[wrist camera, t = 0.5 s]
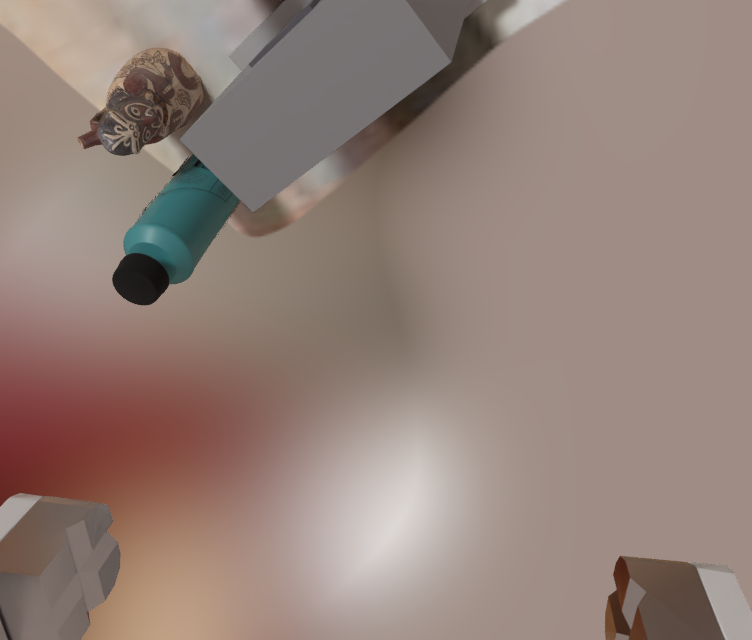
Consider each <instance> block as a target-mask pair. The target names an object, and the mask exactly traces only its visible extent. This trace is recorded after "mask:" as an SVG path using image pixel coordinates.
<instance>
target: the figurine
mask: <svg viewBox="0 0 752 640" xmlns="http://www.w3.org/2000/svg"><path fill="white" fill-rule="evenodd" d="M203 98H204V94H203V91H202V86H201V79H200V77H199V76H198V75H197V73H196V72H195V71H194V70H193V68H192V67H191V65H189V64H188V63H187V61H186V60H185V59H184V58H183V57H182V56H181V55H180V54H179V53H177V52H175V51H173V50H169V49H164V48H152V49H147V50H145V51H143V52H141V53H138V54H136V55H135V56H134V57H132V58H131V59H130V60H129V61H128V62H127V63H126V64H125V65H124V66H123V68H122V69H121V70H120V71H119V72H118V74H117V75H116V77H115V79H114V80H113V82H112V84H111V85H110V87H109V90H108V95H107V102H106V107H105V108H104V109H103V110H102V111H100V112H99V113H97V114H96V115H95V116H94V117H93V119H92V120H91V121H90V125H91V129H92V131H90V132H88V133H86V134H84V135H82V136H80V137H78V138H77V140H78V141H79V143H80V144H81V145H82V147H83V149H86V148H89V147H92V146H95V145H101V144H103V146H104V147H105V149H107V151H109V152H110V153H112V154H115V155H120V156H125V155H130V154H138V153H140V150H141V148H142V147H143V146H144V145H147V144H152V143H157V142H159V141H161V140H162V139H164V138H165V137H167V136H168V135H170V134H171V133H172V132H174V131H175V130H176V129H178V128H180V127H182V126H184V125H186V123H187V122H188V121H189V119H190V118H191V116H192V115H193V114H194V112H195V111H196V110H197V108H198V107H199V106H200V105H201V103H202V101H203Z"/></svg>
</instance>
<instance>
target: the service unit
mask: <svg viewBox="0 0 752 640" xmlns="http://www.w3.org/2000/svg"><path fill="white" fill-rule="evenodd" d="M486 1H487V0H285V1H284V2H283V3H282V4H281V5H280V6H279V7H278V8H277V9H276V10H275V11H274V12H273V13H272V14H271V15H270V16H269V17H268V18H267V19H266V20H265V21H264V22H263V23H262V24H261V25H260V26H259V27H258V28H257V29H256V30H255V31H254V32H253V33H252V34H251V35H250V36H249V37H248V38H247V39H246V40H245V41H244V42H243V43H242V44H241V45H240V46H239V47H238V48H237V49H236V50H235V51H234V52H233V53H232V54H231V55H230V56H229V57H230V58H231V59H232V60H233V62H234V63H235V64H236V65H237V66H238V67H239V68H240V69H241V70H242V72H241V73H240V74H239V75H238V76H237V77H236V78H235V80H234V81H233V82H232V83H231V84H230V85H229V86H228V87H227V88H226V89H225V90H224V91H223V93H222V94H221V95H220V96H219V97H218V98H217V99H216V100H215V101H214V102H213V103H212V104H211V106H210V107H209V108H208V109H207V110H206V111H205V112H204V113H203V114H202V115H201V116H200V117H199V119H198V120H197V121H196V122H195V123H194V124H193V125H192V126H191V127H190V128H189V129H188V131H187V132H186V133H185V134H184V135H183V136H182V137H181V138H180V139H179V140H180V141H181V142H182V143H183V144H184V145H185V146H186V147H187V148H188V149H189V150H190V151H191V152H192V153H193V154H194V155H195V156H196V157H197V158H198V159H199V160H200V161H201V162H202V163H203V164H204V165H205V166H206V167H207V168H208V169H209V170H210V171H211V172H212V173H213V174H214V175H215V176H216V177H217V178H218V179H219V180H220V181H221V182H222V183H223V184H224V185H225V186H226V187H227V188H228V189H229V190H231V191H232V192H233V193H234V194H235V195H236V196H237V197H238V198H239V199H240V200H241V201H242V202H243V203H244V204H245V205H246V206H247V207H248V208H249V209H250V210H251V211H252V212H254V211H256V210H257V209H258V208H260V207H261V206H262V205H264V204H265V203H266V202H268V201H269V200H270V199H272V198H273V197H274V196H276V195H277V194H278V193H279V192H281V191H282V190H283V189H285V188H286V187H287V186H289V185H290V184H291V183H293V182H294V181H295V180H297V179H298V178H299V177H301V176H302V175H303V174H305V173H306V172H307V171H309V170H310V169H311V168H312V167H314V166H315V165H316V164H318V163H319V162H320V161H322V160H323V159H324V158H326V157H327V156H328V155H330V154H331V153H332V152H334V151H335V150H336V149H338V148H339V147H340V146H342V145H343V144H344V143H346V142H347V141H348V140H349V139H351V138H352V137H353V136H355V135H356V134H357V133H359V132H360V131H361V130H363V129H364V128H365V127H367V126H368V125H369V124H371V123H372V122H373V121H375V120H376V119H377V118H379V117H380V116H381V115H383V114H384V113H385V112H386V111H388V110H389V109H390V108H392V107H393V106H394V105H396V104H397V103H398V102H400V101H401V100H402V99H404V98H405V97H406V96H408V95H409V94H410V93H412V92H413V91H414V90H416V89H417V88H418V87H420V86H421V85H422V84H423V83H425V82H426V81H427V80H429V79H430V78H431V77H433V76H434V75H435V74H437V73H438V72H439V71H441V70H442V69H443V68H445V67H446V66H447V65H449V64H450V63H451V62H452V59H453V55H454V52H455V48H456V45H457V41H458V38H459V34H460V31H461V28H462V24H463V21H464V19H465V18H466V17H467V16H469V15H470V14H471V13H472V12H474V11H475V10H476V9H477V8H479V7H480V6H481V5H482V4H484V3H485V2H486Z"/></svg>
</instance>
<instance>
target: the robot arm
mask: <svg viewBox="0 0 752 640" xmlns="http://www.w3.org/2000/svg"><path fill="white" fill-rule="evenodd" d="M112 522H113V519H112V516H111V513H110V509H109V506H107V505H104V504H102V503H96V502H88V501H80V500H72V499H64V498H56V497H50V496H49V497H48V496H47V497H44V496H36V495H29V494H22V493H20V494H17V495H15V496H12V497H10V498H9V499H8V500H7V501H6V502H5V503H4V504H3V505H2V506H1V507H0V640H81V638H82V636H83V635H84V634H85V632H86V631H87V629H88V627H89V626H90V619H89V611H90V610H92V609H93V608H95V607H96V606H98V605H99V604H101V603H103V602H104V601H105V600H106V599H107V597H108V595H109V594H110V592H111V590H112V589H113V587H114V585H115V582H116V578H117V575H118V572H119V569H120V549H119V545H118V542H117V541H116V540H115V539H114V538H113V537H112V536H111V535H110V533H109V532H107V530H108V528H109V527H110V525H111V524H112ZM613 576H614V580H615V584H616V588H617V590H616V591H615V592H613V593H612V594H611V595H609V596H608V601H607V607H606V612H605V637H606V640H752V610H751V608H750V606H749V604H748V602H747V600H746V597H745V595H744V593H743V591H742V589H741V587H740V585H739V583H738V581H737V578H736V577H735V574H734V572H733V571H732V570H731V569H730V568H729V567H728V566H725V565H715V564H704V563H693V562H691V563H688V562H680V561H670V560H659V559H648V558H638V557H627V556H620V557H619V558H618V560H617V562H616V565H615V569H614V573H613Z"/></svg>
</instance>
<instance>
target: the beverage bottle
mask: <svg viewBox="0 0 752 640" xmlns="http://www.w3.org/2000/svg"><path fill="white" fill-rule="evenodd" d="M188 157H189V156H188ZM186 160H187V162H186V163H185V161H186ZM186 160H185V161H184V163H185V164H184V163H183V164H184V165H183V164H182V165H181V167H182V168H181V167H180V168H179V169H180V170H179V169H178V171H177V172H175V173H174V174H173V176H174V177H173V178H172V179H171V181H170V182H169V183H168V184H167V185H166V186H165V188H164V189H163V190H162V191H161V193H160V194H159V195H158V196H157V197H156V198H155V200H154V201H153V202H152V203H151V204H150V206H149V207H148V208H147V209H145V212H144V213H142V216H141V217H140V218H139V220H138V221H137V222H136V223H135V224H134V226H133V227H132V228H130V229H129V230H128V232H127V233H126V235H125V237H124V251H125V254H126V256H125V257H124V258H123V259H122V260H121V262H120V264H119V266H118V268H117V269H116V270H115V272H114V274H113V278H112V281H113V285H114V287H115V289H116V291H117V292H118V293H119V294H120V295H121V296H122V297H123V298H125V299H126V300H128V301H129V302H132V303H134V304H138V305H150V304H152V303H154V302H155V301H156V300H157V299H158V298H159V297H160V296H161V294H163V293H164V292H165V290H166V289H167V288H168V286H169V284H178V283H181V282H183V281H185V280H187V279H188V278H189V277H190V276H191V274H192V273H193V271H194V268H195V267H196V265H197V264H198V262H199V261H200V259H201V257H202V256H203V254H204V253H205V251H206V250H207V248H208V247H209V245H210V244H211V242H212V241H213V239H214V238H215V237H216V235H217V233H218V232H219V231H220V229H221V228H222V227H223V225H224V223H225V222H226V220H227V219H228V217H229V216H230V214H231V213H232V211H233V210H234V208H235V207H236V205H237V204H238V202H239V200H240V199H239V198H238V197H237V196H236V195H235V194H234V193H233V192H232V191H231V190H229V189H228V188H227V187H226V186H225V185H224V184H223V183H222V182H221V181H220V180H219V179H218V178H217V177H216V176H215V175H214V174H213V173H212V172H211V171H210V170H209V169H208V168H207V167H206V166H205V165H204V164H203V163H202V162H201V161H200V160H199V159H198V158H197V157H196V156H195V155H194V154H192V156H191V157H190V158H189V159H188V158H187V159H186ZM240 202H241V200H240ZM238 205H239V204H238ZM235 210H236V209H235ZM233 212H234V211H233ZM230 217H231V216H230ZM230 217H229V218H230ZM228 220H229V219H228ZM228 220H227V221H228Z"/></svg>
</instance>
